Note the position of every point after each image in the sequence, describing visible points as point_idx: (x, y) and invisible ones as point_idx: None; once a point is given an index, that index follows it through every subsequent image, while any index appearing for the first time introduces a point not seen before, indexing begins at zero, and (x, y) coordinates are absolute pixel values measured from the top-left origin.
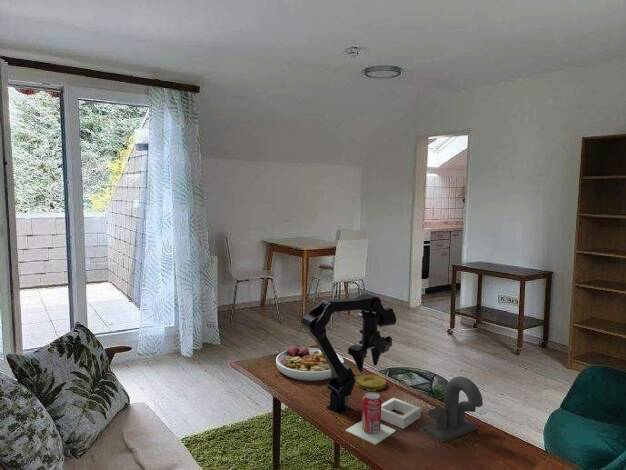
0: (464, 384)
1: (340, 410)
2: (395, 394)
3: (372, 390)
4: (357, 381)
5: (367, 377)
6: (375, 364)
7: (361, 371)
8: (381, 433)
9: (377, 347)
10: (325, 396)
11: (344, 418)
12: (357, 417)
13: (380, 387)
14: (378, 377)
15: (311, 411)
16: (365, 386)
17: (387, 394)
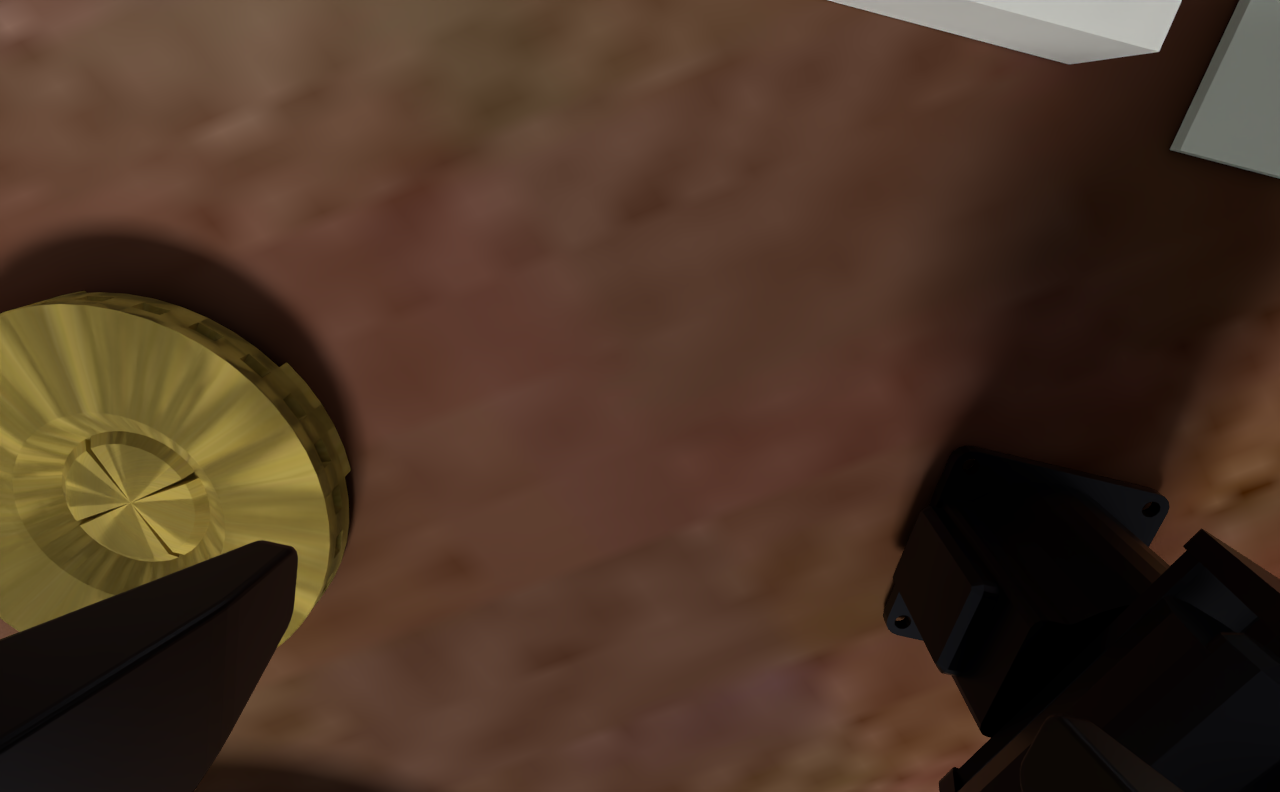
0: None
1: (1111, 514)
2: (185, 69)
3: (314, 403)
4: (282, 642)
5: (70, 586)
6: (276, 586)
7: (1106, 735)
8: None
9: None
10: (786, 766)
11: (1249, 403)
12: (1167, 276)
13: (192, 330)
14: None
15: None
16: (333, 509)
17: (271, 179)
